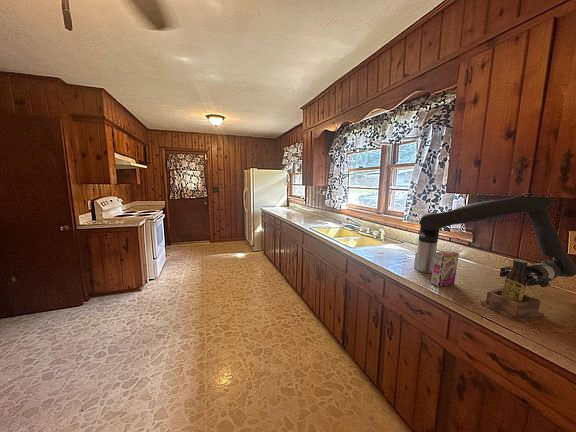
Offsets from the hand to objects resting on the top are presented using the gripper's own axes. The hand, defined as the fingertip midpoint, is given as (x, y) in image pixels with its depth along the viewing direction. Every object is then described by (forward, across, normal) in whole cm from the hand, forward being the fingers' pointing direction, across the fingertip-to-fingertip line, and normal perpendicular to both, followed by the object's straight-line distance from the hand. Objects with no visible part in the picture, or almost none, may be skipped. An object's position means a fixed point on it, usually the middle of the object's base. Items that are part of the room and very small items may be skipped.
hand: (514, 278), depth 94 cm
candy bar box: (+2, -26, +14) cm, 29 cm away
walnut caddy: (-2, 0, +14) cm, 14 cm away
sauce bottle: (-2, 0, +13) cm, 13 cm away
